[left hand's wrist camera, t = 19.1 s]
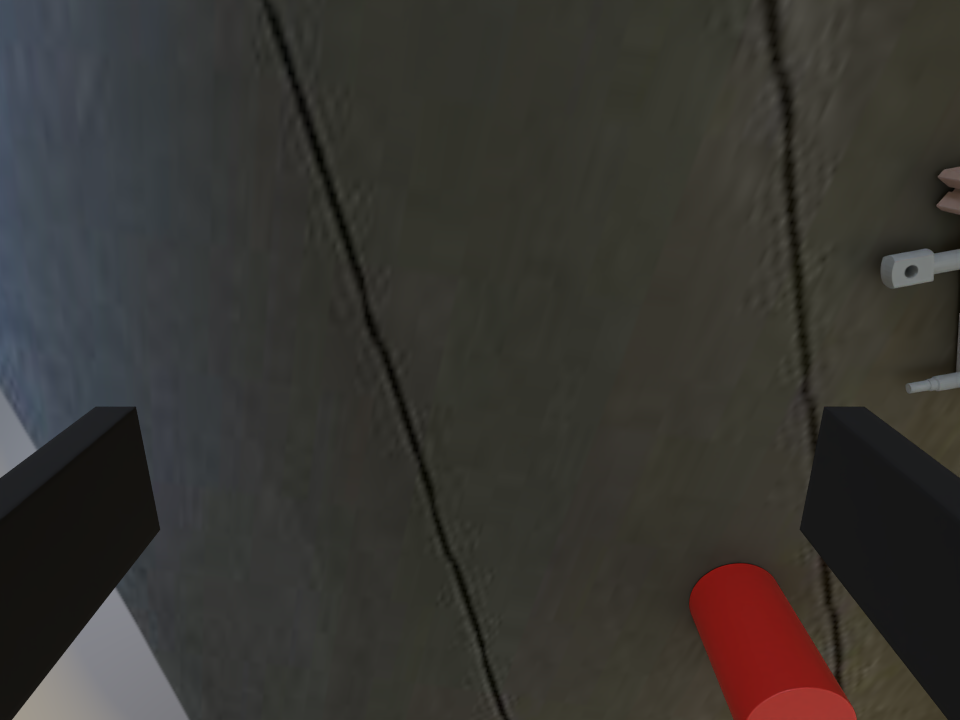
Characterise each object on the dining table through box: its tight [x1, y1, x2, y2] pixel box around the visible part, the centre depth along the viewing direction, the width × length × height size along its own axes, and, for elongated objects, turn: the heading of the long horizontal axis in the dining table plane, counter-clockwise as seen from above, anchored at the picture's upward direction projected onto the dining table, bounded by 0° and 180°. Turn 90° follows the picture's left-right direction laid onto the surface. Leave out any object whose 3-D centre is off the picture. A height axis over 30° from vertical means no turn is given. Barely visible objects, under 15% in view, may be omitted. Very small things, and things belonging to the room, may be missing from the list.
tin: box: [689, 563, 857, 720], centre depth 36 cm, size 6×6×9 cm
